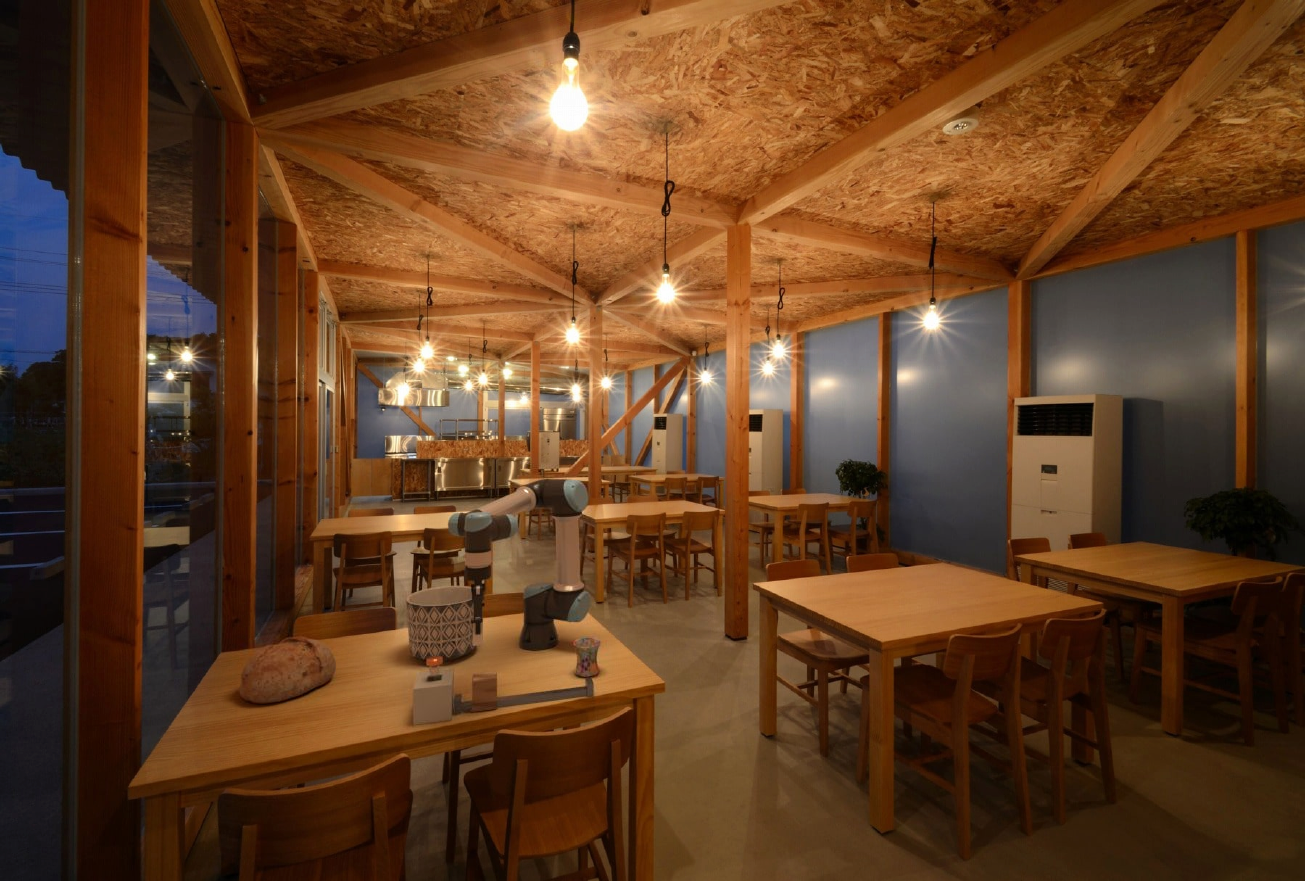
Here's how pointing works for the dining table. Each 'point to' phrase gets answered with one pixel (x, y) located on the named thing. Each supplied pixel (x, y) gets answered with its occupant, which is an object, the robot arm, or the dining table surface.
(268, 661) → the bread
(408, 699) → the dining table surface
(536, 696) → the rail
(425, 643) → the planter
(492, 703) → the block
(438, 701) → the knob base
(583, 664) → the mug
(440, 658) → the push button
